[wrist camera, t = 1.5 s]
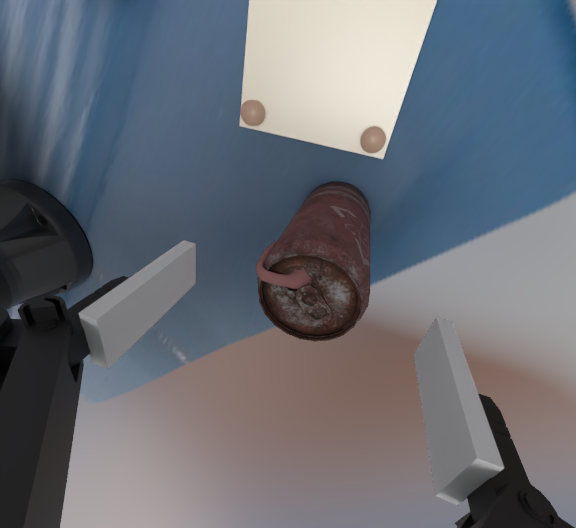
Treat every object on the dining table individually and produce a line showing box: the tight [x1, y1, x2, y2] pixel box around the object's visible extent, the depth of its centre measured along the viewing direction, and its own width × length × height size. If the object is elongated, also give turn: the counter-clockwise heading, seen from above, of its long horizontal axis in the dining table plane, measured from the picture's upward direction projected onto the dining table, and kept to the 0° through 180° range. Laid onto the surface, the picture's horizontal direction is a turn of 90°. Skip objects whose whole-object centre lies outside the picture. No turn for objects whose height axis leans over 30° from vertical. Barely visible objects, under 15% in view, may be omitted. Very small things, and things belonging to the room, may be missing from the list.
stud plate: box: [240, 0, 437, 159], centre depth 20 cm, size 12×12×2 cm
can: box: [256, 182, 370, 341], centre depth 20 cm, size 6×6×14 cm
